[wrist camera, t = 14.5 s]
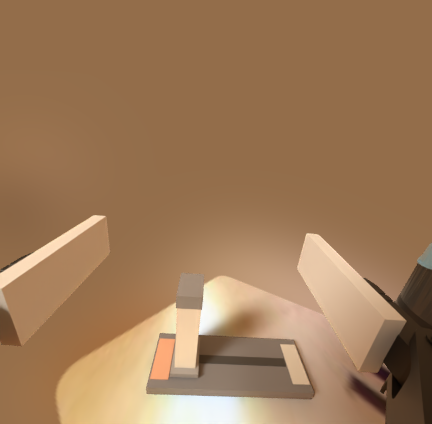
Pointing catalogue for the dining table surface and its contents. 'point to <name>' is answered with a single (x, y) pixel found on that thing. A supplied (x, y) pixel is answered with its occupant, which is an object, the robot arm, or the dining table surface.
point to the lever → (187, 326)
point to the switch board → (234, 369)
